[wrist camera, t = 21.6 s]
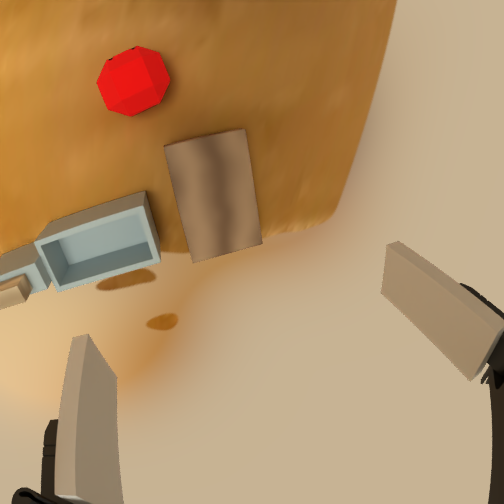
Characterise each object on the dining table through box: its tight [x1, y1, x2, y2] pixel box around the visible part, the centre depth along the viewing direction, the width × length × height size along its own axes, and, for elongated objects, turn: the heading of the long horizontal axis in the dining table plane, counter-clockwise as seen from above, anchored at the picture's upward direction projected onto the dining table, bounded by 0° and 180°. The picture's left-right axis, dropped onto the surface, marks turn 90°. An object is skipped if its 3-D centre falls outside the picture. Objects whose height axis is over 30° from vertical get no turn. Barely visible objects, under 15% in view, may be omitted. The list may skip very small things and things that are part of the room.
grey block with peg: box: [0, 242, 52, 294], centre depth 31 cm, size 4×12×13 cm, turn 99°
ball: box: [97, 46, 170, 116], centre depth 29 cm, size 8×8×8 cm
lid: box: [164, 128, 262, 263], centre depth 38 cm, size 10×16×2 cm, turn 9°
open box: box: [34, 191, 161, 292], centre depth 37 cm, size 8×16×7 cm, turn 99°
